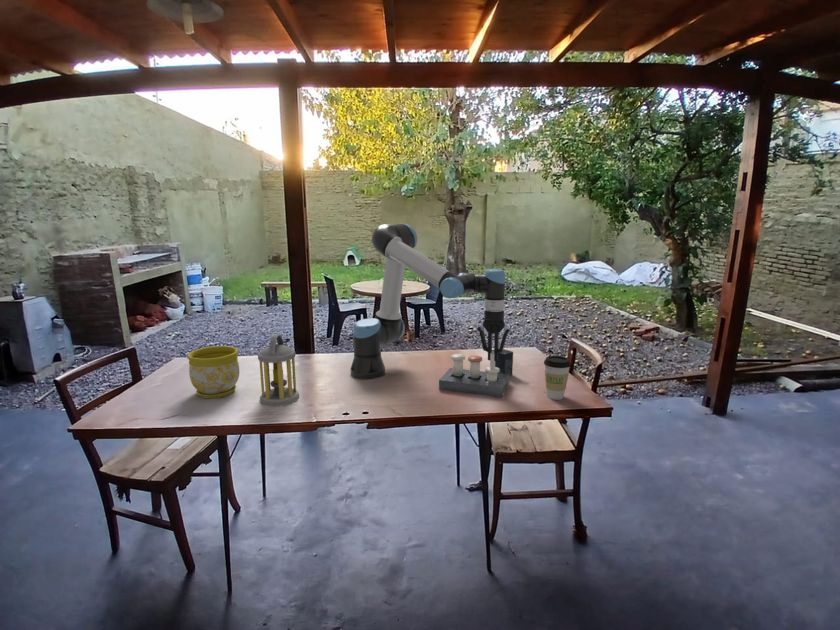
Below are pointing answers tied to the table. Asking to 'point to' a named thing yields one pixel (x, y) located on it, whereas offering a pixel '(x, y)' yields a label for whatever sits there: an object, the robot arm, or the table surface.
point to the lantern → (277, 373)
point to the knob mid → (475, 366)
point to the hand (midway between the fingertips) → (492, 368)
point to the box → (505, 362)
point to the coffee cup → (556, 376)
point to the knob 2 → (492, 374)
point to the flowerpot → (214, 370)
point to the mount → (474, 383)
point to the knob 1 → (458, 364)
